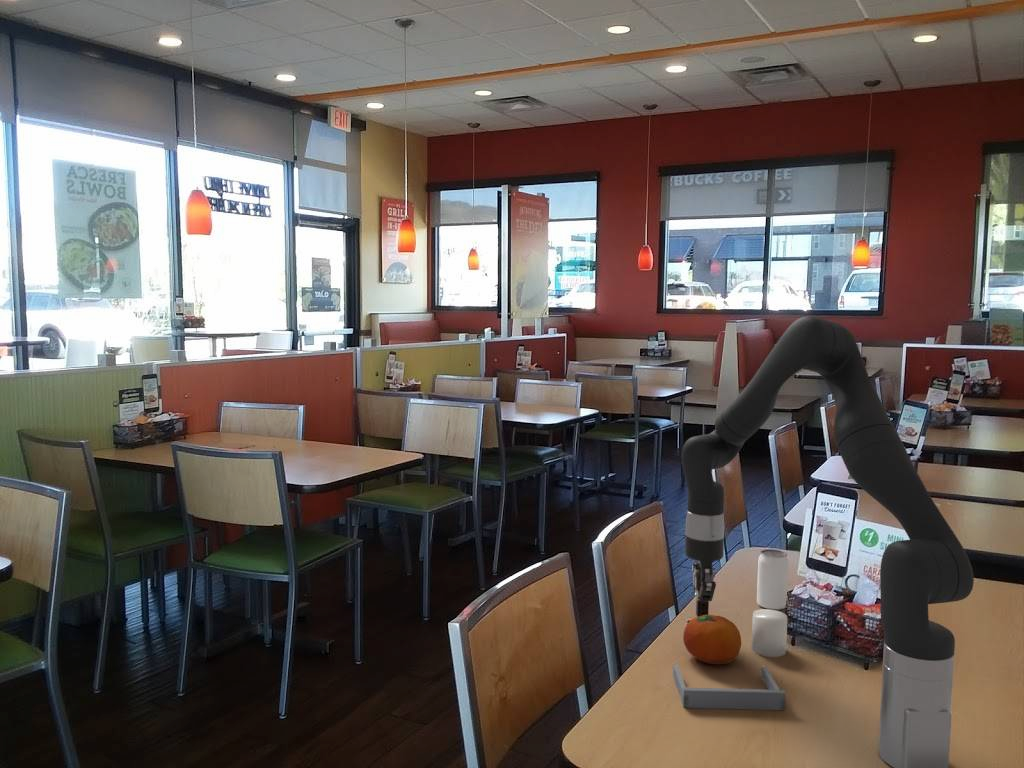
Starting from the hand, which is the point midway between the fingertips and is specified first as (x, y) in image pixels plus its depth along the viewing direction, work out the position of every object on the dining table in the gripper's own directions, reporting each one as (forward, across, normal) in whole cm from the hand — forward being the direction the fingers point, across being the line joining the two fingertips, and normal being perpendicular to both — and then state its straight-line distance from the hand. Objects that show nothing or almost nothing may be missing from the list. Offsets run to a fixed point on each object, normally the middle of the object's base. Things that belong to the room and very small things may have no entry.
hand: (701, 617), depth 166 cm
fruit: (+4, -11, 0) cm, 12 cm away
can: (+4, +18, -19) cm, 27 cm away
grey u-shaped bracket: (+4, -24, 0) cm, 24 cm away
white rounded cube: (+4, -6, -12) cm, 14 cm away
